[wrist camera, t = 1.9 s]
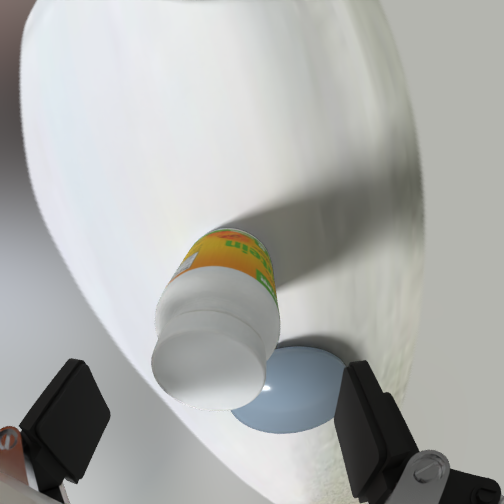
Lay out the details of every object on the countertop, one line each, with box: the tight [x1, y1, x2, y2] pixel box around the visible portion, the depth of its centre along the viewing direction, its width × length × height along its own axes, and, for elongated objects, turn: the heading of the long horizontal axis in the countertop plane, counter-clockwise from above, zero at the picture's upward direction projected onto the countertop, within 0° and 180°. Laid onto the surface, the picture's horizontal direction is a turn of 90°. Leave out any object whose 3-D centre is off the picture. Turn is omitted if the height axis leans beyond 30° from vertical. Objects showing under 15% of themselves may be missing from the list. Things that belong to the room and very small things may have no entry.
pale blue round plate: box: [231, 346, 346, 434], centre depth 21 cm, size 10×10×2 cm
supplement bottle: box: [151, 228, 280, 411], centre depth 13 cm, size 5×5×10 cm
